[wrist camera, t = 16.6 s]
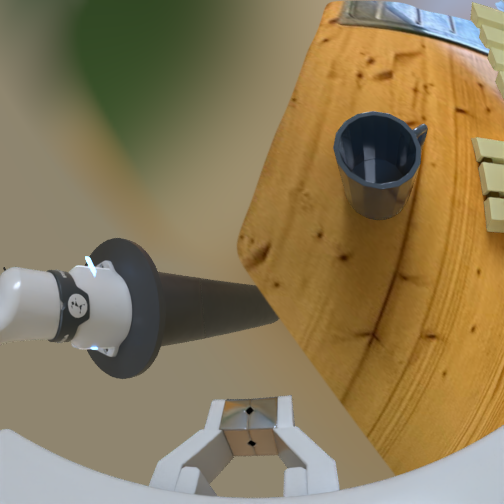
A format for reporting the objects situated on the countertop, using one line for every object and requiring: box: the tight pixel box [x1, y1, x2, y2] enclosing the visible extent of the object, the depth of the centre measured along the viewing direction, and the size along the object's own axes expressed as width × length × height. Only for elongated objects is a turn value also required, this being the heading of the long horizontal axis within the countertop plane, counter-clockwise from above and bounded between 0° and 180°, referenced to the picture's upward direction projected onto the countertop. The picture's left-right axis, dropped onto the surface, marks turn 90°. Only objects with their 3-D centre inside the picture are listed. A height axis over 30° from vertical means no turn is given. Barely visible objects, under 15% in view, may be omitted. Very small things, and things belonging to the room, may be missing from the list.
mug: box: [333, 111, 428, 220], centre depth 25 cm, size 11×8×10 cm
